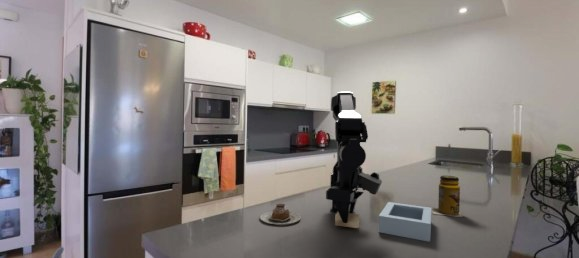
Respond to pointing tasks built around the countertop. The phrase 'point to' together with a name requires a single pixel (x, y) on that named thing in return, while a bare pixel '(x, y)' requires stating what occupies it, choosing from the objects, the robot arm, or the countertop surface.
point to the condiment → (448, 197)
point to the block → (352, 220)
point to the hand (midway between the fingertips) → (347, 220)
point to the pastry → (280, 215)
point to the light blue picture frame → (406, 221)
